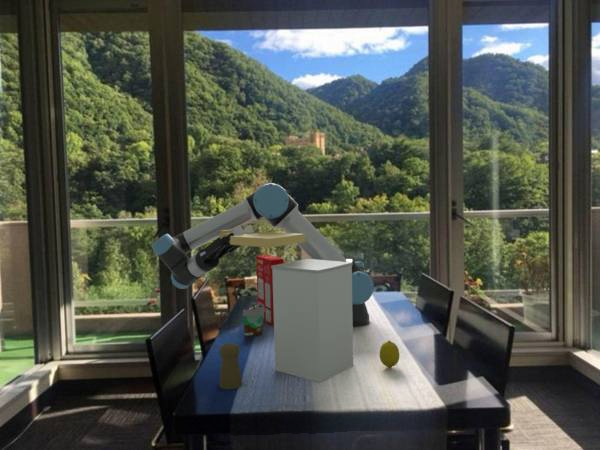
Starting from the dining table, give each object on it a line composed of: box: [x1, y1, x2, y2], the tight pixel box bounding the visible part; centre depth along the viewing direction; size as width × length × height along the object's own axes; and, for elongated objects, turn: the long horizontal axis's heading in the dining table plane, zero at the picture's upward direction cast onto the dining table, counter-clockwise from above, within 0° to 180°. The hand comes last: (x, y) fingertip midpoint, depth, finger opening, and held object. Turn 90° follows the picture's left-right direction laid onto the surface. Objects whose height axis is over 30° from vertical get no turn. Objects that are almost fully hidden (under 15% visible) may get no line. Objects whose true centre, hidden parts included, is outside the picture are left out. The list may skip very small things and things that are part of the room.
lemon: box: [379, 340, 400, 369], centre depth 149 cm, size 6×6×8 cm
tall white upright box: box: [271, 258, 354, 383], centre depth 150 cm, size 16×16×30 cm
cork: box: [219, 342, 243, 390], centre depth 139 cm, size 6×6×11 cm
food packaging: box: [255, 254, 285, 327], centre depth 204 cm, size 15×5×25 cm, turn 26°
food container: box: [242, 302, 265, 338], centre depth 187 cm, size 12×6×10 cm, turn 168°
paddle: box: [219, 230, 305, 248], centre depth 162 cm, size 27×16×3 cm, turn 52°
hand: (246, 229), depth 164 cm, fingers closed on paddle, 4 cm apart
